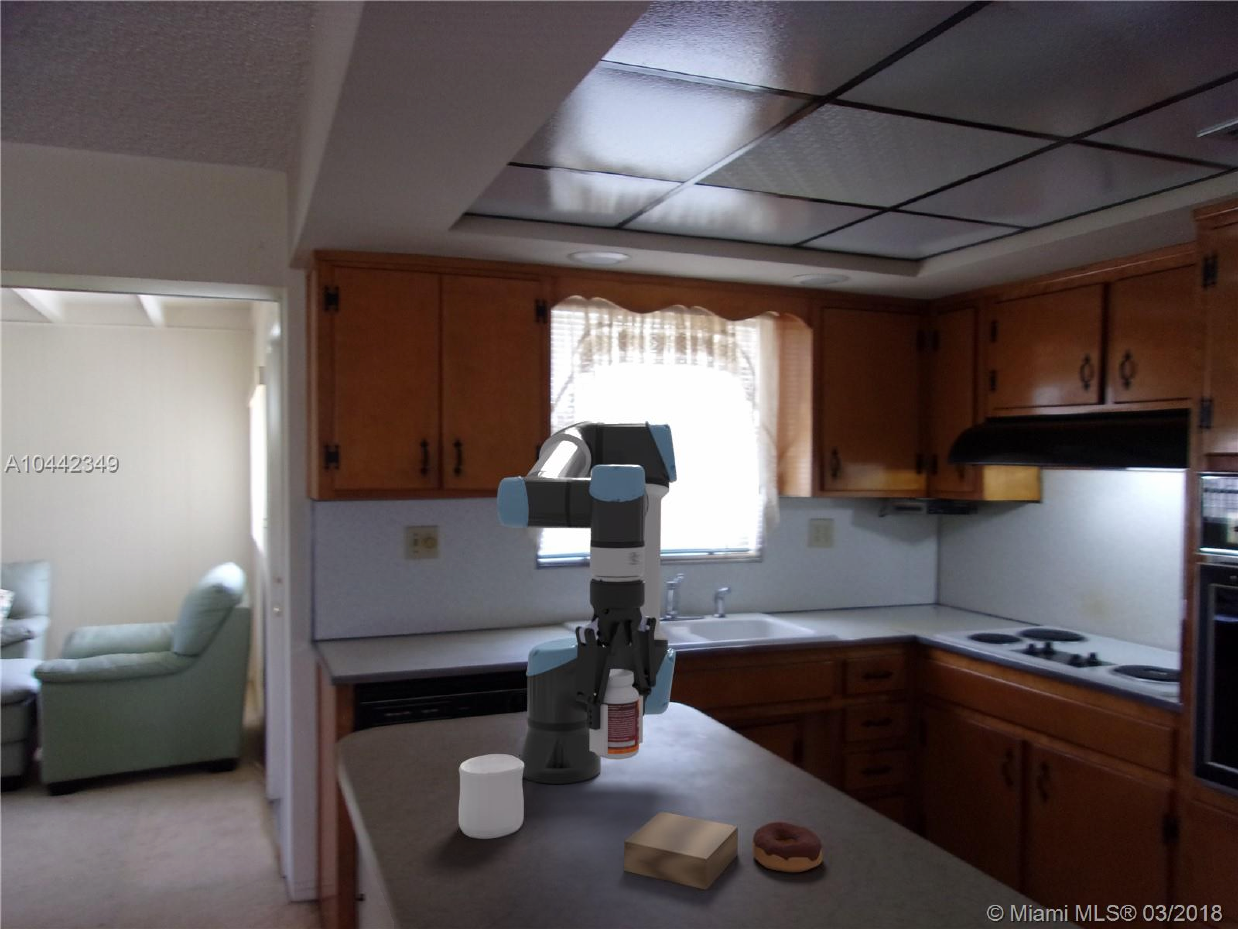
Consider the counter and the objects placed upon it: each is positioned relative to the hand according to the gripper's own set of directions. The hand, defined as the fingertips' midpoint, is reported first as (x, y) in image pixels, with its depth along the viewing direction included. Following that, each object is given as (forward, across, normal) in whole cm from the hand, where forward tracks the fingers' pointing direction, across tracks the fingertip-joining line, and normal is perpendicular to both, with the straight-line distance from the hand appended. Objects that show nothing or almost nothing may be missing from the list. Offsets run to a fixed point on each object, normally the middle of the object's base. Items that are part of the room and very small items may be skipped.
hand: (616, 746), depth 123 cm
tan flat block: (+17, +8, -5) cm, 19 cm away
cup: (+17, -3, +24) cm, 29 cm away
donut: (+17, +19, -15) cm, 30 cm away
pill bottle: (+1, 0, 0) cm, 1 cm away
